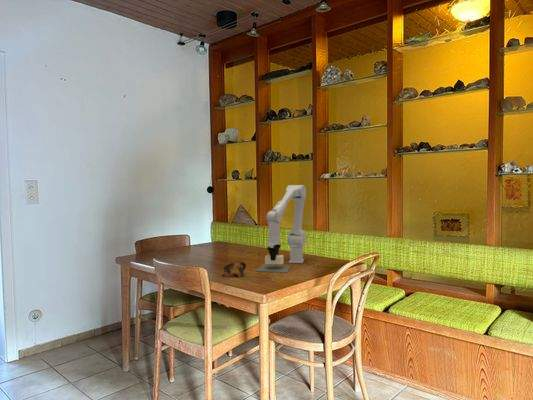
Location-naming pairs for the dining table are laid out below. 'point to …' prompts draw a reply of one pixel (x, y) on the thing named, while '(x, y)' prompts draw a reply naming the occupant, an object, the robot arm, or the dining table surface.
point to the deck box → (278, 260)
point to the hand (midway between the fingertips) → (274, 259)
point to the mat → (274, 268)
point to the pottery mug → (237, 265)
